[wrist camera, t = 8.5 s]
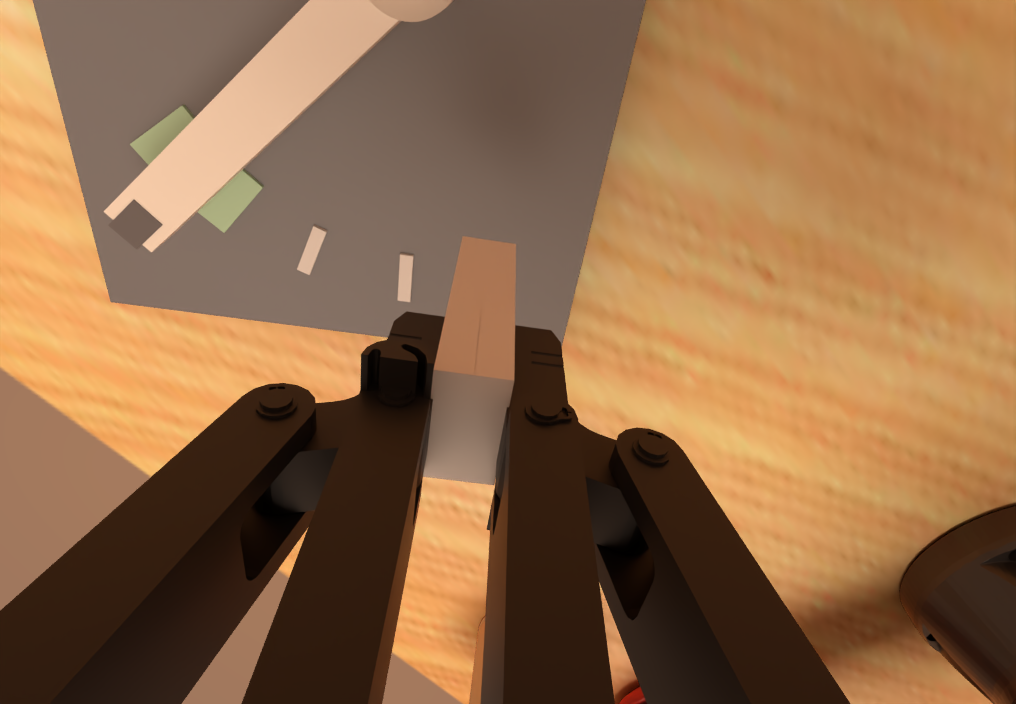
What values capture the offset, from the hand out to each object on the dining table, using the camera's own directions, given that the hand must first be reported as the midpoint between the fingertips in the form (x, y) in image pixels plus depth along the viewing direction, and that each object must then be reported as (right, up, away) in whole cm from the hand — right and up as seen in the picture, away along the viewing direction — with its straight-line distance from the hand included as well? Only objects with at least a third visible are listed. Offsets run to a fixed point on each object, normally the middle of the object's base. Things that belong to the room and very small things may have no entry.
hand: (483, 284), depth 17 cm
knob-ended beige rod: (-7, +7, +4) cm, 11 cm away
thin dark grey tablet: (-6, +7, +8) cm, 13 cm away
